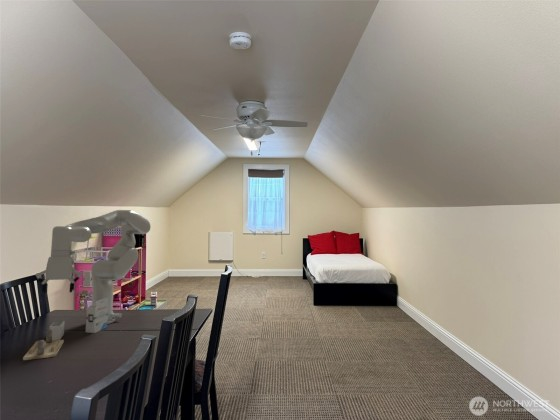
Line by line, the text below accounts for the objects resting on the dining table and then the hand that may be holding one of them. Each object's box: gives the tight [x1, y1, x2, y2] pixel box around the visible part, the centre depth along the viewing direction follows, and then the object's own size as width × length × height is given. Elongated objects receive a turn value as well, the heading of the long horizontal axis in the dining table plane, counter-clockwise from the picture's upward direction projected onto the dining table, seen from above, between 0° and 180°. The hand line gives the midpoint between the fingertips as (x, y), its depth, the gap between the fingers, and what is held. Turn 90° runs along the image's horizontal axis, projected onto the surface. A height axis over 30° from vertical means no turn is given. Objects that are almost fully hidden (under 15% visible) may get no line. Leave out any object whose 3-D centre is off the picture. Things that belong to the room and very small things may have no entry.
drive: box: [49, 320, 65, 341], centre depth 145 cm, size 4×8×6 cm, turn 24°
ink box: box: [85, 298, 108, 334], centre depth 156 cm, size 9×5×15 cm, turn 168°
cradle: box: [22, 328, 65, 361], centre depth 130 cm, size 10×16×6 cm, turn 24°
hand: (58, 292), depth 145 cm, fingers open, 9 cm apart
